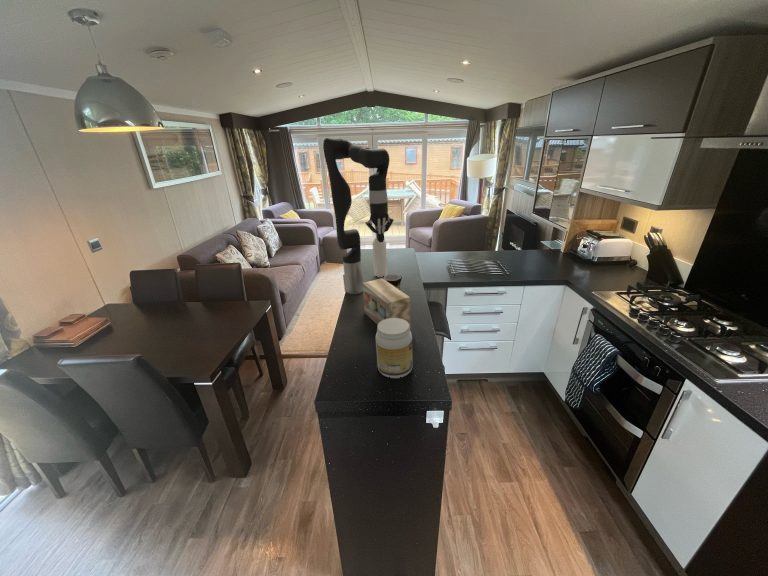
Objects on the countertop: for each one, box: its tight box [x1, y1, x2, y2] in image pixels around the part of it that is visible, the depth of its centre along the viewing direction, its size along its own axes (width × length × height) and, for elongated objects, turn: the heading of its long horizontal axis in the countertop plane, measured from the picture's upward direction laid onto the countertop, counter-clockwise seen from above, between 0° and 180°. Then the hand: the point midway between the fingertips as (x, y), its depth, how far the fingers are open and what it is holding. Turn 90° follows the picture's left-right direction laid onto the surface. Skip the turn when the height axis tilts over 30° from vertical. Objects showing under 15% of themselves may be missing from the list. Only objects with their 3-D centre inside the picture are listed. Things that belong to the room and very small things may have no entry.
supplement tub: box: [375, 318, 414, 379], centre depth 103 cm, size 12×12×17 cm
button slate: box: [379, 307, 386, 318], centre depth 125 cm, size 2×4×4 cm, turn 28°
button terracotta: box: [363, 294, 370, 304], centre depth 137 cm, size 2×4×4 cm, turn 27°
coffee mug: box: [383, 273, 403, 291], centre depth 159 cm, size 12×9×10 cm
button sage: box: [368, 300, 377, 311], centre depth 131 cm, size 2×4×4 cm, turn 28°
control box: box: [362, 277, 411, 329], centre depth 134 cm, size 10×24×15 cm, turn 27°
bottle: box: [372, 227, 388, 278], centre depth 181 cm, size 8×8×30 cm
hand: (380, 241), depth 136 cm, fingers closed
